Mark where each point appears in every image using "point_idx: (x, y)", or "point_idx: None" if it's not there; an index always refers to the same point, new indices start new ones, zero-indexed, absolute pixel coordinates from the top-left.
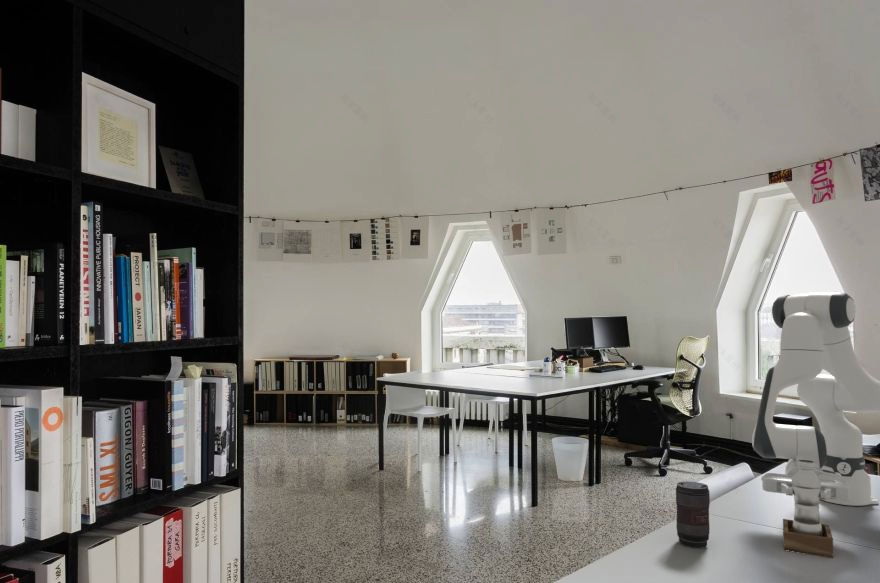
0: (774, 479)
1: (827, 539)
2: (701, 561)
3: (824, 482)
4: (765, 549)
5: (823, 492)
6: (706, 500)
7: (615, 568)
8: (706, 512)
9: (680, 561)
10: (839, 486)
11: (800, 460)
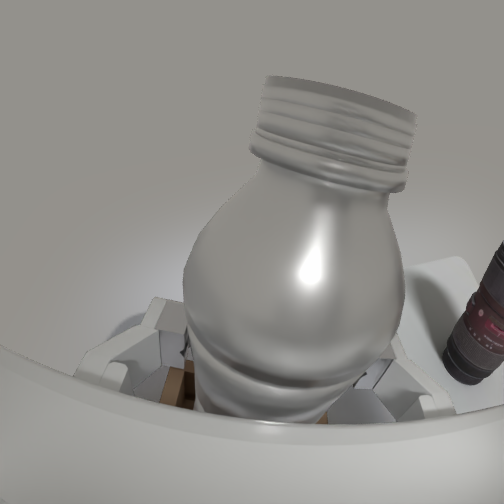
0: (500, 405)
1: (189, 362)
2: (415, 304)
3: (66, 466)
4: (348, 399)
5: (173, 303)
6: (489, 268)
7: (456, 269)
8: (477, 295)
9: (432, 297)
10: (3, 351)
11: (406, 118)
